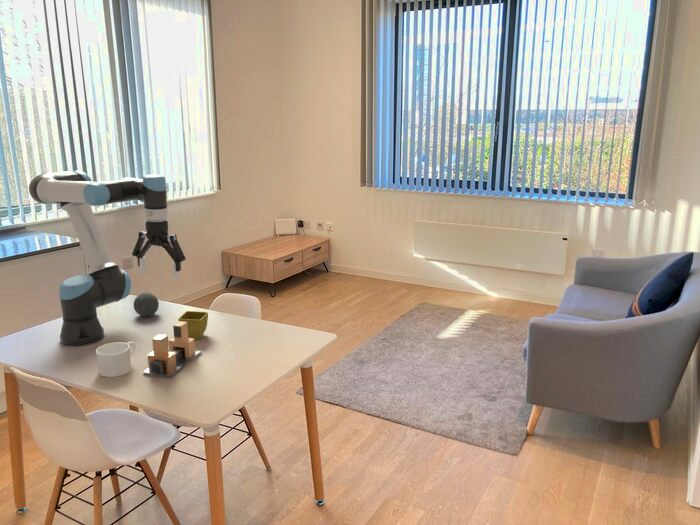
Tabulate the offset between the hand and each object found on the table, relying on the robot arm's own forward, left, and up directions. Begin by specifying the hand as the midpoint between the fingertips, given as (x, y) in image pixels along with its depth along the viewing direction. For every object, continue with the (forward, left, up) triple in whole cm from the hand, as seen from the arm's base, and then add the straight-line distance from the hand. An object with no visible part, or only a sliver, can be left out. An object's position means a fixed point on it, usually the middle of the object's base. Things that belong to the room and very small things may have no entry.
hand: (159, 277), depth 204 cm
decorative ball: (-24, +24, -26) cm, 42 cm away
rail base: (+12, -14, -26) cm, 32 cm away
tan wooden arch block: (+12, -8, -25) cm, 29 cm away
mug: (-3, -23, -26) cm, 35 cm away
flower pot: (+7, +9, -26) cm, 28 cm away
